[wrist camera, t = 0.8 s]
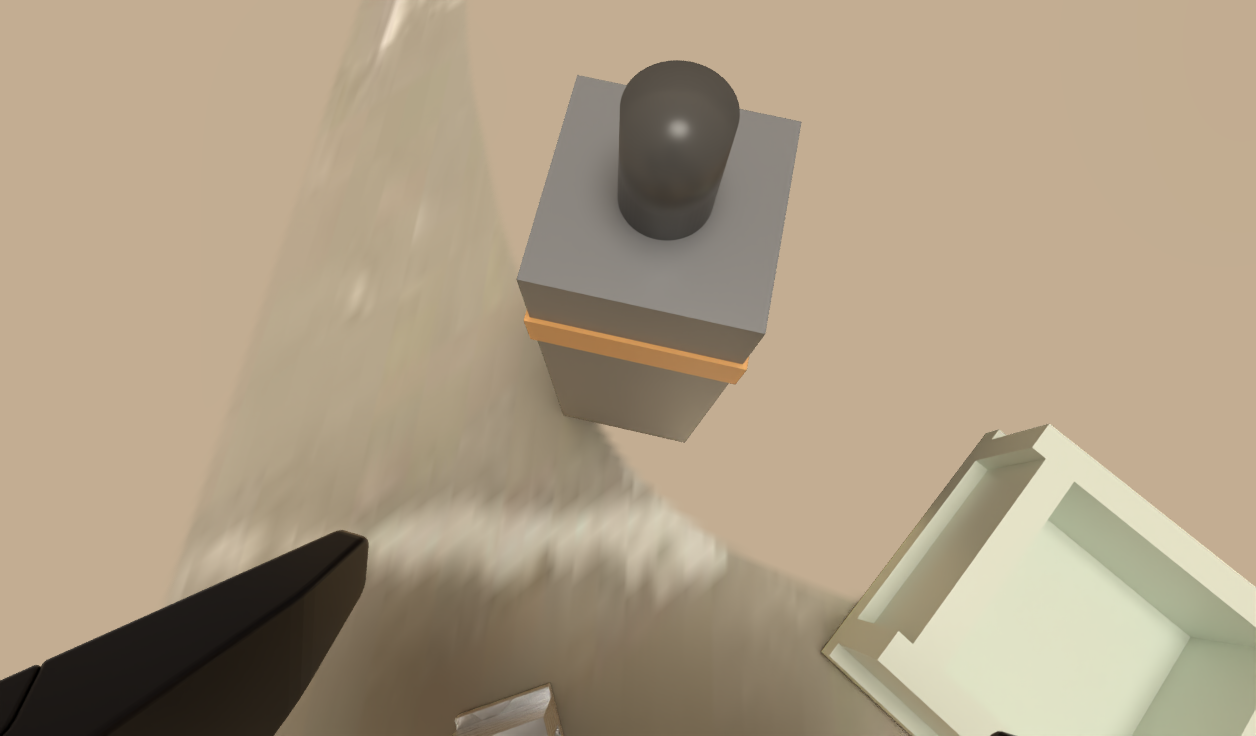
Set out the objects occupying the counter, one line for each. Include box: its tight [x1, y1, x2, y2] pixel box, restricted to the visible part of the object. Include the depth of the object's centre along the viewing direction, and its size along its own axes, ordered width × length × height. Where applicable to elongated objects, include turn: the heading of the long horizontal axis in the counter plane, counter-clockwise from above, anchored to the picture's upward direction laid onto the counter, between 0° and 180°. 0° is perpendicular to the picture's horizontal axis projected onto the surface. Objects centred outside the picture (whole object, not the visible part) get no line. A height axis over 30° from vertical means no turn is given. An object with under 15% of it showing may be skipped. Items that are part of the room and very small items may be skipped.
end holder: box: [821, 424, 1256, 736], centre depth 19 cm, size 10×10×4 cm
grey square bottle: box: [517, 61, 801, 442], centre depth 16 cm, size 5×5×14 cm
